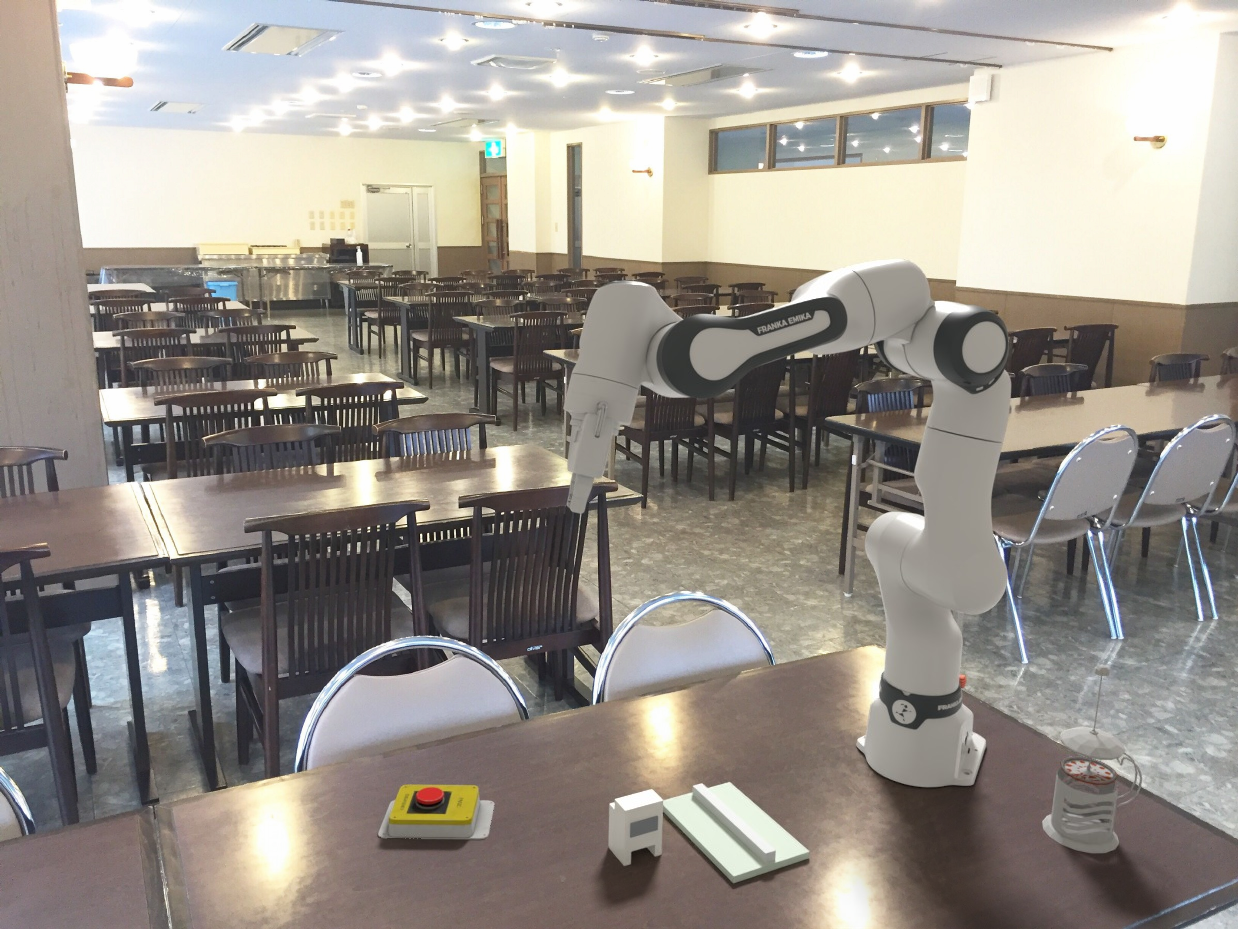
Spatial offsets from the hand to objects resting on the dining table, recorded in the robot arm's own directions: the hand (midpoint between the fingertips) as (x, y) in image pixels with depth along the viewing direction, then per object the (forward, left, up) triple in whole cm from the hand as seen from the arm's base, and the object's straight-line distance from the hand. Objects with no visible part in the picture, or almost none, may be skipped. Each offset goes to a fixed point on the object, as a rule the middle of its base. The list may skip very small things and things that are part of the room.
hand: (574, 510), depth 126 cm
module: (-2, +9, -46) cm, 47 cm away
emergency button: (+10, -16, -46) cm, 50 cm away
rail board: (-14, +17, -46) cm, 51 cm away
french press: (-46, +55, -46) cm, 85 cm away
